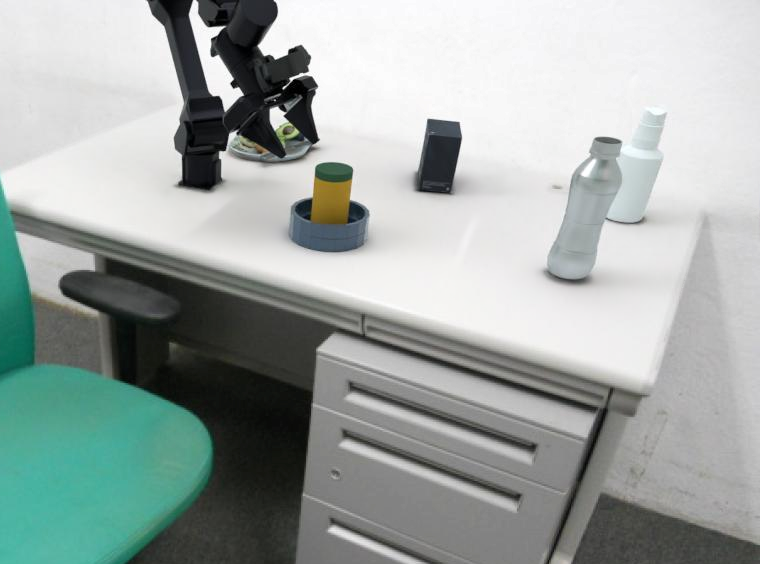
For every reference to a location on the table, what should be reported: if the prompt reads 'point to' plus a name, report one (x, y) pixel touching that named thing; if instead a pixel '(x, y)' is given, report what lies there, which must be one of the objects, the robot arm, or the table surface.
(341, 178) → the green-capped yellow cylinder
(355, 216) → the bowl
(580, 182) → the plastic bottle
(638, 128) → the spray bottle
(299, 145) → the salad plate
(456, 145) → the small box
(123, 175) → the table surface
